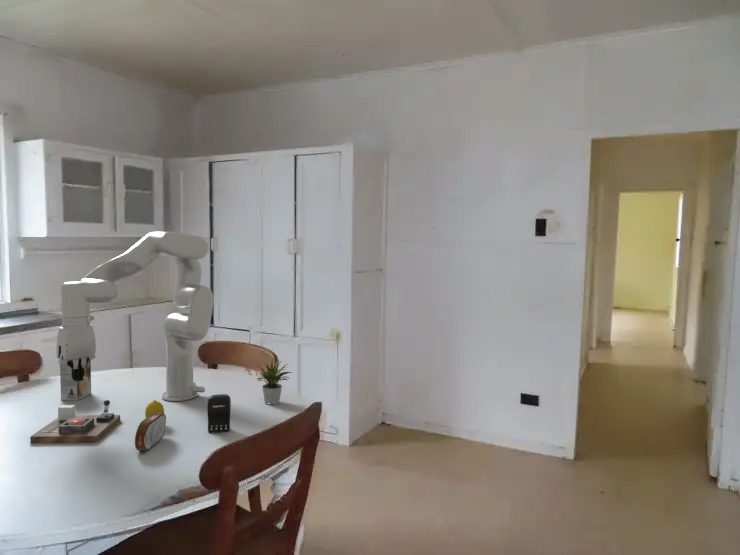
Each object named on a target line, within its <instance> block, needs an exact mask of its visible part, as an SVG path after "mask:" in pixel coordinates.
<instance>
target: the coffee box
mask: <svg viewBox="0 0 740 555" xmlns="http://www.w3.org/2000/svg"><path fill="white" fill-rule="evenodd" d="M66 361H67V360H66ZM91 361H92V360H89V361H88V363H87V364H86V366H85V367H84V377H83V381H79V382H77V381H74V380H73V379H72V373H71V368H70V367H69V366H68V365H61V364H59V371H60V372H59V374H60V375H59V377H60V378H59V379H60V383H59V384H60V401H71V400H74V401H73V402H77V401H79V400H82V399H83V398H85V397H88V396H89V395H91V394H92V367H91V366H92V364H91V363H92V362H91ZM77 362H78V359H77Z"/></svg>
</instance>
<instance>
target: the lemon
mask: <svg viewBox="0 0 740 555" xmlns="http://www.w3.org/2000/svg"><path fill="white" fill-rule="evenodd" d="M154 412H157V413H164V414H165V408H164V405H163V403H161V402H160V401H159V400H158V401H157V400H152V401H151V402H150V403H147V406H146V408H145V413H144V414H145V415H144V416H145V419H146V418H147V417H148V416H150V415H151V414H153V413H154Z"/></svg>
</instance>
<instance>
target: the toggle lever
mask: <svg viewBox="0 0 740 555" xmlns="http://www.w3.org/2000/svg"><path fill="white" fill-rule="evenodd" d="M103 404H104V405H103V406H104V407H103V413H109V406H110V404H111V401H110V400H109V399H106V400H104V401H103Z"/></svg>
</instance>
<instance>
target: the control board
mask: <svg viewBox="0 0 740 555" xmlns="http://www.w3.org/2000/svg"><path fill="white" fill-rule="evenodd" d="M76 418H84V419H86V423H84V424H83V425H68V421H69V420H72V419H76ZM120 421H121V414H115V413H114V412H108V413H104V412H102V413H100V414H94V415H93V414H75V418H70V419H68V420H58V417H56V418H55V419H54V420H52V421H51V422H49V423H48V424H46V425H44V426H43V427H42V428H41V429H39V430H38V431H36V432H35V433H33V434H32V435H31V436H29V437H30V438H29V439H30V444H82V443H83V444H93V443H95V444H97V443H98V442H99V441H100V440H102V438H103V437H105V436H106V435H107V434H108V433H109V432H110V431H111V430H112V429H113V428H114V427H116V426H117V425H118V424H119V423H120Z"/></svg>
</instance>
